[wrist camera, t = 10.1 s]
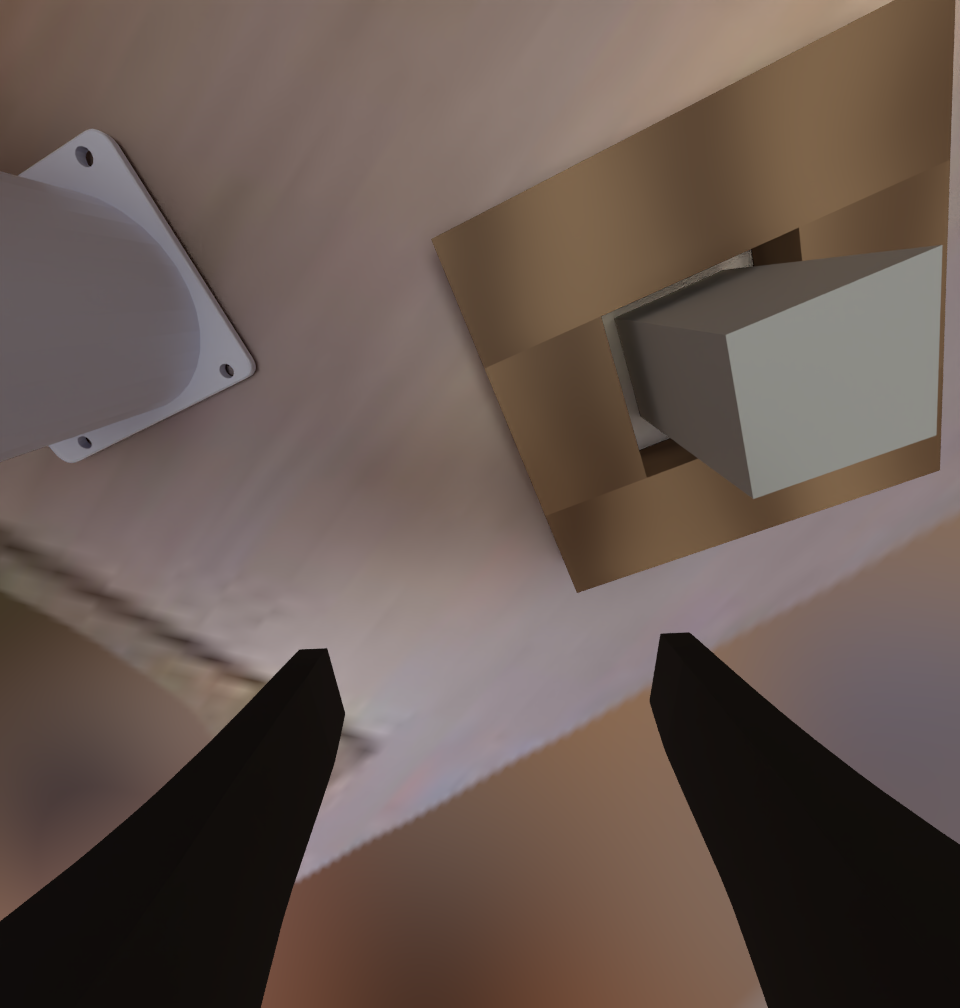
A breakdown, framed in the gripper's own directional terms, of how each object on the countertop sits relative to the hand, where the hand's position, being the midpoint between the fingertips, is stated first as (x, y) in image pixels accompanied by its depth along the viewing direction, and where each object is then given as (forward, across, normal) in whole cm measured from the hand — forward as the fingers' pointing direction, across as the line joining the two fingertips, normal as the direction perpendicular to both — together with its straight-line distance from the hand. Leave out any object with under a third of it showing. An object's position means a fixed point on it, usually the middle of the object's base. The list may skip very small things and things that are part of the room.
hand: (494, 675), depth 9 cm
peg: (+10, -8, -5) cm, 14 cm away
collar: (+10, -8, -5) cm, 14 cm away
